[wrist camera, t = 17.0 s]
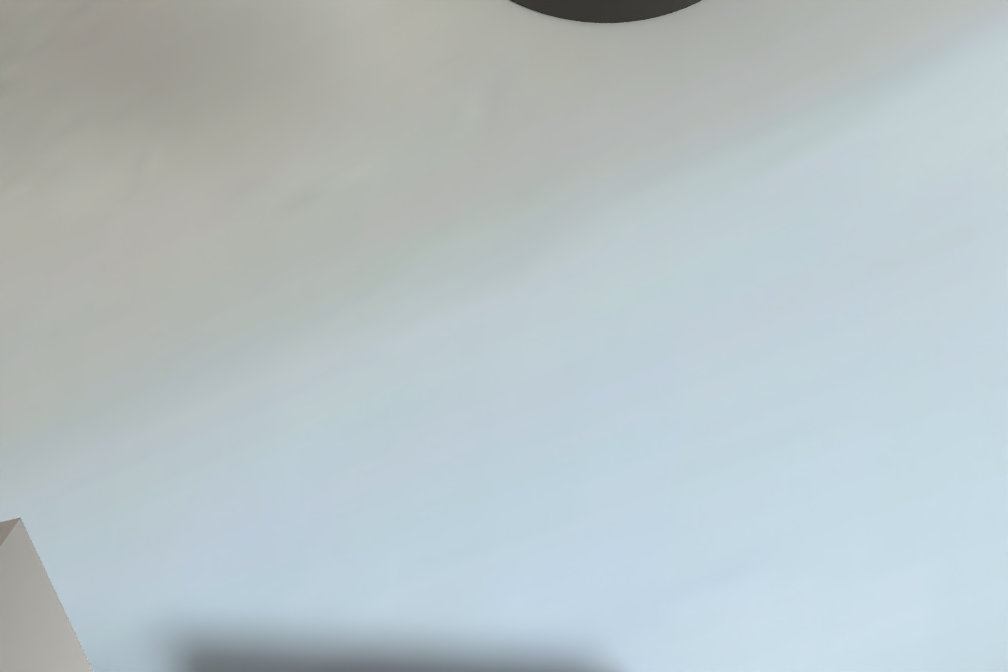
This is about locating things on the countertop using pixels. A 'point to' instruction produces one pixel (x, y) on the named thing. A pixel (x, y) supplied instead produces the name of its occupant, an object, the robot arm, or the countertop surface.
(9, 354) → the countertop surface
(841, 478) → the countertop surface
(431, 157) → the countertop surface
